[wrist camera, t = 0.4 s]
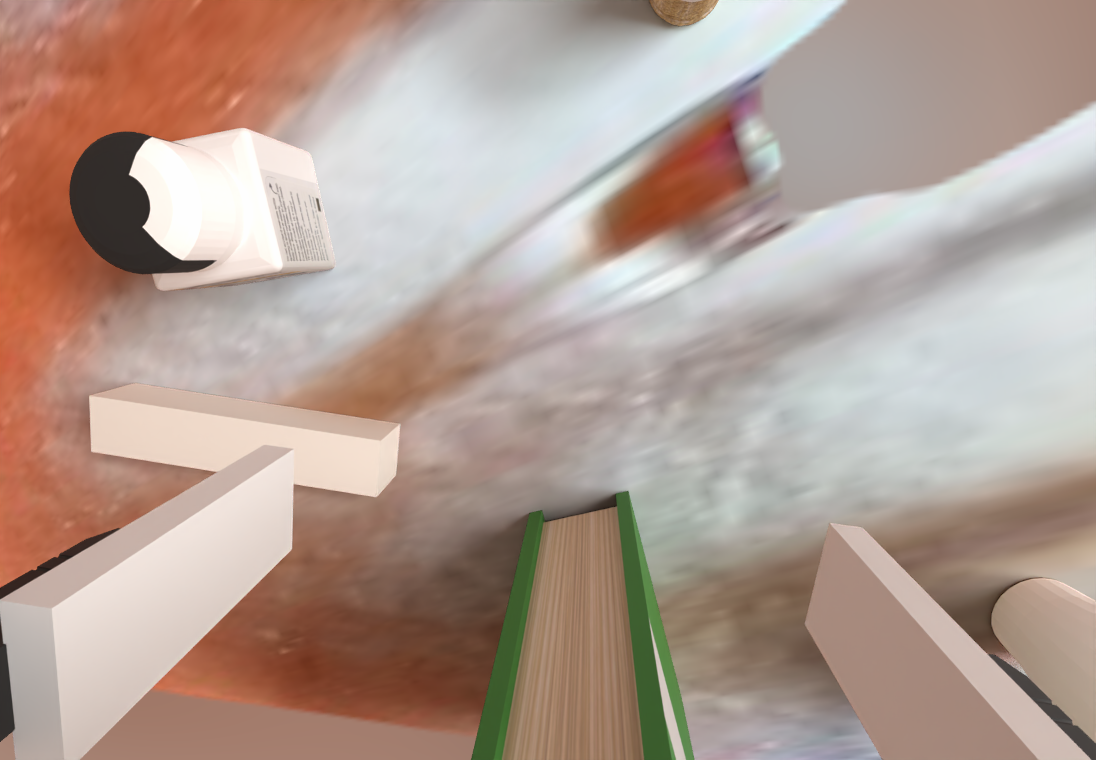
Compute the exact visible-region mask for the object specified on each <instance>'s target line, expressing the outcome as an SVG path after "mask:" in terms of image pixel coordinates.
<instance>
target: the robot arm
mask: <svg viewBox="0 0 1096 760" xmlns="http://www.w3.org/2000/svg"><path fill="white" fill-rule="evenodd" d="M293 480H294V449H292V448H285V447H278V446H270V445H263V446H261V447H259V448H258V449H256V450H254V451H253V452H251V453H249V454H247V455H246V456H244V457H242V458H241V459H239V460H237V461H236V462H234V463H232V464H230V465H229V466H227V467H225V468H224V469H222V470H220V471H218V472H217V473H215V474H213V475H212V476H210V477H208V478H207V479H205V480H203V481H201V482H200V483H198V484H196V485H195V486H193V487H191V488H190V489H188V490H186V491H184V492H183V493H181V494H179V495H178V496H176V497H174V498H172V499H171V500H169V501H167V502H166V503H164V504H162V505H161V506H159V507H157V508H155V509H154V510H152V511H150V512H149V513H147V514H145V515H143V516H142V517H140V518H138V519H137V520H135V521H133V522H132V523H130V524H128V525H126V526H125V527H123V528H121V529H120V528H117V529H114V530H111V531H109V532H106V533H103V534H100V535H97V536H94V537H91V538H88V539H85V540H84V541H82V542H80V543H78V544H77V545H75V546H73V547H71V548H70V549H68V550H66V551H64V552H63V553H61V554H59V557H58V558H56V557H54V558H52V559H50V560H48V561H47V562H45V563H43V564H41V565H40V566H38V567H37V570H31V571H29V572H27V573H25V574H24V575H22V576H20V577H18V578H17V579H15V580H13V581H11V582H10V583H8V584H6V585H4V586H3V587H1V588H0V742H1V741H2V740H3V739H4V738H5V737H7V736H8V735H9V734H10V733H11V732H13V740H14V748H15V759H16V760H80V759H81V758H82V756H84V754H86V753H87V752H88V751H89V750H90V749H91V748H92V747H93V746H94V745H95V744H96V743H97V742H98V741H99V740H100V739H101V738H102V737H103V736H104V735H105V734H106V733H107V732H108V731H109V730H110V729H111V728H112V727H113V726H114V725H115V724H116V723H117V722H118V721H119V720H120V719H121V718H122V717H123V716H124V715H125V714H126V713H127V712H128V711H129V710H130V709H131V708H132V707H133V706H134V705H135V704H136V703H137V702H138V701H139V700H140V699H141V698H142V697H143V696H144V695H145V694H146V693H147V692H148V691H149V690H150V689H151V688H152V687H153V686H154V685H155V684H156V683H157V682H158V681H159V680H160V679H161V678H162V677H163V676H165V675H166V674H167V673H168V672H169V671H170V670H171V669H172V668H173V667H174V666H175V665H176V664H177V663H178V662H179V661H180V660H181V659H182V658H183V657H184V656H185V655H186V654H187V653H188V652H189V651H190V650H191V649H192V648H193V647H194V646H195V645H196V644H197V643H198V642H199V641H200V640H201V639H202V638H203V637H204V636H205V635H206V634H207V633H208V632H209V631H210V630H211V629H212V628H213V627H214V626H215V625H216V624H217V623H218V622H219V621H220V620H221V619H222V618H223V617H224V616H225V615H226V614H227V613H228V612H229V611H230V610H231V609H232V608H233V607H234V606H235V605H236V604H237V603H238V602H239V601H240V600H241V599H242V598H243V597H244V596H245V595H246V594H247V593H248V592H249V591H250V590H251V589H252V588H253V587H254V586H255V585H256V584H257V583H258V582H259V581H260V580H261V579H262V578H263V577H264V576H265V575H267V574H268V573H269V572H270V571H271V570H272V569H273V568H274V567H275V566H276V565H277V564H278V563H279V562H280V561H281V560H282V559H283V558H284V557H285V556H286V555H287V554H288V553H289V552H290V551H291V550H292V530H293ZM805 626H806V627H807V629H808V631H809V633H810V634H811V636H812V638H813V639H814V641H815V643H816V645H817V646H818V648H819V650H820V652H821V653H822V655H823V657H824V659H825V660H826V662H827V664H828V666H829V667H830V669H831V671H832V673H833V674H834V676H835V678H836V680H837V681H838V683H839V685H840V686H841V688H842V690H843V692H844V693H845V695H846V697H847V699H848V700H849V702H850V704H851V706H852V707H853V709H854V711H855V713H856V714H857V716H858V718H859V720H860V721H861V723H862V725H863V727H864V728H865V730H866V732H867V733H868V735H869V737H870V739H871V740H872V742H873V744H874V746H875V747H876V749H877V751H878V753H879V754H880V756H881V758H882V760H1096V743H1095V742H1094V741H1093V740H1092V739H1091V738H1090V737H1089V736H1088V735H1087V734H1086V733H1085V732H1084V731H1083V730H1082V729H1081V728H1079V727H1078V726H1076V725H1073V723H1072V720H1071V719H1070V718H1069V717H1068V716H1067V715H1066V714H1065V713H1064V712H1063V711H1062V710H1061V709H1060V708H1059V707H1058V706H1057V705H1052V700H1051V699H1050V698H1049V697H1048V696H1047V695H1046V694H1045V693H1043V692H1042V691H1041V690H1040V689H1039V688H1038V687H1037V686H1036V685H1035V684H1034V683H1033V682H1032V681H1031V680H1030V679H1029V678H1028V677H1027V676H1025V675H1024V674H1022V673H1021V672H1019V671H1018V670H1017V669H1015V668H1014V667H1012V666H1011V665H1009V664H1008V663H1006V662H1005V661H1003V660H1002V659H1000V658H999V657H997V656H996V655H991V654H987V653H986V652H985V651H984V650H983V649H982V648H981V647H980V646H979V645H978V644H977V643H976V642H975V641H974V640H973V639H972V638H971V637H970V636H969V635H968V634H967V633H966V632H965V631H964V630H963V629H962V628H961V627H960V626H959V625H958V624H957V623H956V622H955V621H954V620H953V619H952V618H951V617H950V616H949V615H948V614H947V613H946V612H945V611H944V610H943V609H942V608H941V607H940V606H939V605H938V604H937V603H936V602H935V601H934V600H933V599H932V598H931V597H930V596H929V595H928V594H927V593H926V592H925V591H924V590H923V588H922V587H921V586H920V585H919V584H918V583H917V582H916V581H915V580H914V579H913V578H912V577H911V576H910V575H909V574H908V573H907V572H906V571H905V570H904V569H903V568H902V567H901V566H900V565H899V564H898V563H897V562H896V561H895V560H894V559H893V558H892V557H891V556H890V555H889V554H888V553H887V552H886V551H885V550H884V549H883V548H882V547H881V546H880V545H879V544H878V543H877V542H876V541H875V540H874V539H873V538H872V537H871V536H870V535H869V534H868V533H867V532H866V531H865V530H864V529H863V528H862V527H856V526H849V525H842V524H834V523H829V527H828V531H827V535H826V539H825V543H824V547H823V551H822V555H821V560H820V564H819V568H818V572H817V576H816V580H815V584H814V588H813V592H812V596H811V601H810V605H809V609H808V613H807V617H806V621H805Z"/></svg>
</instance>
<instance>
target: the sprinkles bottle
mask: <svg viewBox="0 0 1096 760" xmlns="http://www.w3.org/2000/svg"><path fill="white" fill-rule="evenodd" d="M649 1H650V4H651V6H652V8H653V9H654V11H655V12H656V14H657V15H658V16H659V17H660V18H662V19H665V21H666V22H669V23H671V24H673V25H678V26H683V25H691V24H694V23H696V22H698V21H700V20H701V19H703V18H705V17H706V16H707V15H708V14H709V13H710V12H711V11H712V10H713V9H714V7H715V6H716V4H717V2H718V0H649Z"/></svg>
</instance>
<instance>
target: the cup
mask: <svg viewBox="0 0 1096 760" xmlns="http://www.w3.org/2000/svg"><path fill="white" fill-rule="evenodd" d="M991 625H992V628H993V631H994V634H995V635H996V637H997V638H998V640H999V641H1000V642H1001V643H1002V645H1003V646H1004V647H1005V648H1006V649H1007V650H1008V652H1009V653H1010V654H1011V655H1012V656H1013V657H1014V659H1015V660H1016V661H1017V662H1018V663H1019V664H1020V666H1021V667H1022V668H1023V670H1024V671H1025V673H1026V674H1027V676H1028V677H1029V679H1030V680H1031V681H1032V682H1033V683H1034V684H1035V685H1036V686H1037V687H1038V688H1039V689H1040V690H1041V691H1042V692H1043V693H1045V694H1046V695H1047V696H1048V697H1049V698H1050V699H1051V700H1052V705H1057V706H1058V707H1059V708H1060V709H1061V710H1062V711H1063V712H1064V713H1065V714H1066V715H1067V716H1068V717H1069V718H1070V719H1071V720H1072V723H1073V725H1076V726H1078V727H1079V728H1081V729H1082V730H1083V731H1084V732H1085V733H1086V734H1087V735H1088V736H1089V737H1090V738H1091V739H1092V740H1093V741H1094V742H1095V743H1096V601H1095V600H1093V599H1091V598H1090V597H1088V596H1086V595H1084V594H1082V593H1081V592H1079V591H1077V590H1075V589H1073V588H1071V587H1070V586H1068V585H1066V584H1064V583H1062V582H1059V581H1057V580H1053V579H1047V578H1037V579H1030V580H1026V581H1023V582H1020V583H1018V584H1016V585H1014V586H1012V587H1011V588H1009V589H1008V590H1007V591H1006V592H1005V593H1004V594H1002V595H1001V596H1000V598H999V599H998V601H997V602H996V604H995V606H994V609H993V612H992V619H991Z"/></svg>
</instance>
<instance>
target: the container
mask: <svg viewBox="0 0 1096 760" xmlns="http://www.w3.org/2000/svg"><path fill="white" fill-rule="evenodd" d="M70 204H71V209H72V213H73V216H74V219H75V222H76V224H77V226H78V228H79V230H80V232H81V233H82V235H83V237H84V238H85V240H86V241H87V242H88V244H89V245H90V246H91V247H92V249H93V250H94V251H95V252H96V253H97V254H99V255H100V256H101V257H102V258H103V259H105V260H106V261H107V262H109V263H110V264H112V265H114V266H116V267H118V268H120V269H122V270H125V271H128V272H132V273H138V274H152V276H153V279H154V282H155V286H156V287H157V288H158V289H159V290H162V291H172V290H184V289H197V288H209V287H222V286H234V285H241V284H247V283H253V282H259V281H265V280H271V279H277V278H283V277H288V276H294V275H300V274H306V273H312V272H318V271H324V270H329V269H333V268H334V267H335V266H336V261H335V256H334V252H333V248H332V243H331V239H330V235H329V230H328V226H327V221H326V217H325V213H324V208H323V204H322V200H321V195H320V191H319V186H318V182H317V178H316V173H315V169H314V165H313V160H312V156H311V154H310V153H309V152H307V151H305V150H303V149H300V148H297V147H294V146H292V145H289V144H286V143H284V142H281V141H278V140H276V139H273V138H270V137H268V136H265V135H262V134H260V133H257V132H254V131H252V130H249V129H246V128H238V129H233V130H228V131H223V132H218V133H213V134H208V135H203V136H198V137H193V138H188V139H183V140H178V141H173V142H171V141H167V140H163V139H160V138H156V137H152V136H149V135H145V134H141V133H136V132H117V133H113V134H109V135H106V136H104V137H102V138H100V139H98V140H97V141H95V142H94V143H92V144H91V145H90V146H89V147H88V148H87V149H86V150H85V151H84V153H83V154H82V155H81V157H80V158H79V160H78V162H77V164H76V165H75V167H74V170H73V173H72V176H71V182H70Z"/></svg>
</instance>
